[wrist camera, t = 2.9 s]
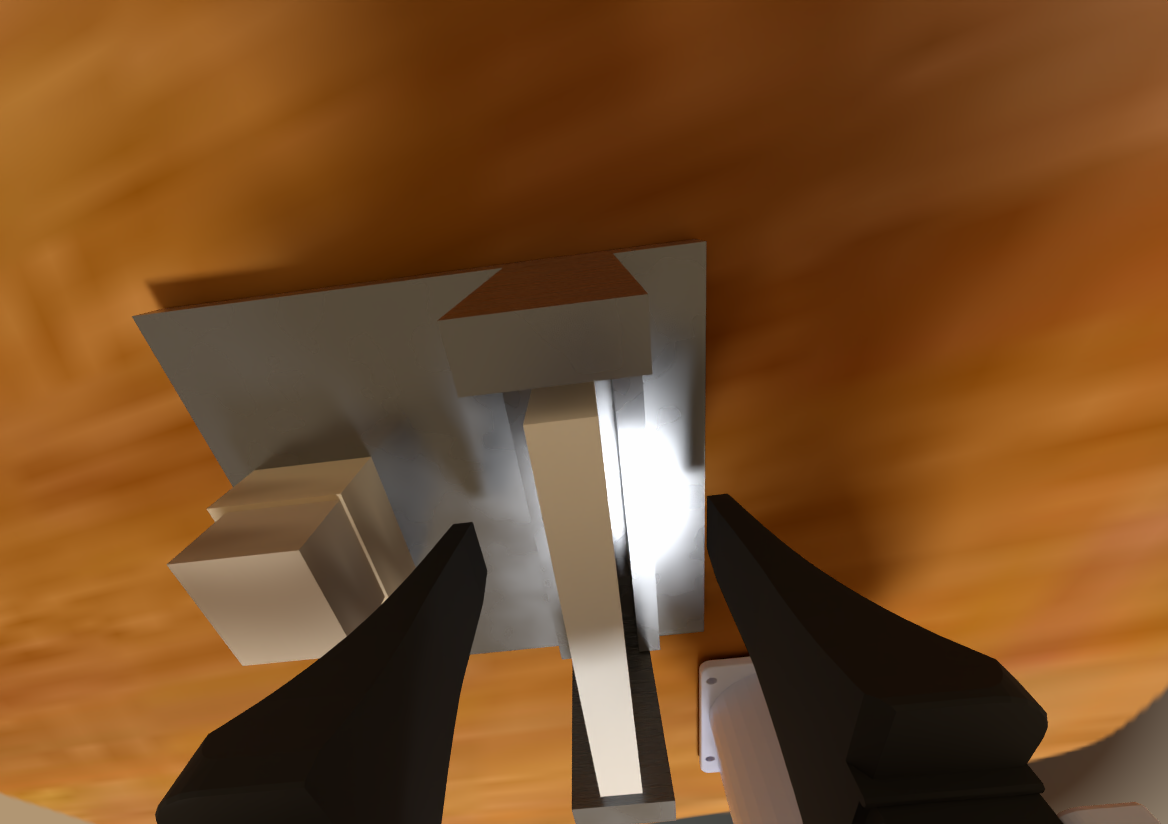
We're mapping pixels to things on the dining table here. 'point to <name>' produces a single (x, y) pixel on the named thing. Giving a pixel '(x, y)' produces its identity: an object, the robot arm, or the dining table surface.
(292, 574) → the offcut top
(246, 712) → the robot arm
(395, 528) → the block
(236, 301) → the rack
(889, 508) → the dining table surface
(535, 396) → the cream rectangular block
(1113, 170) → the dining table surface
